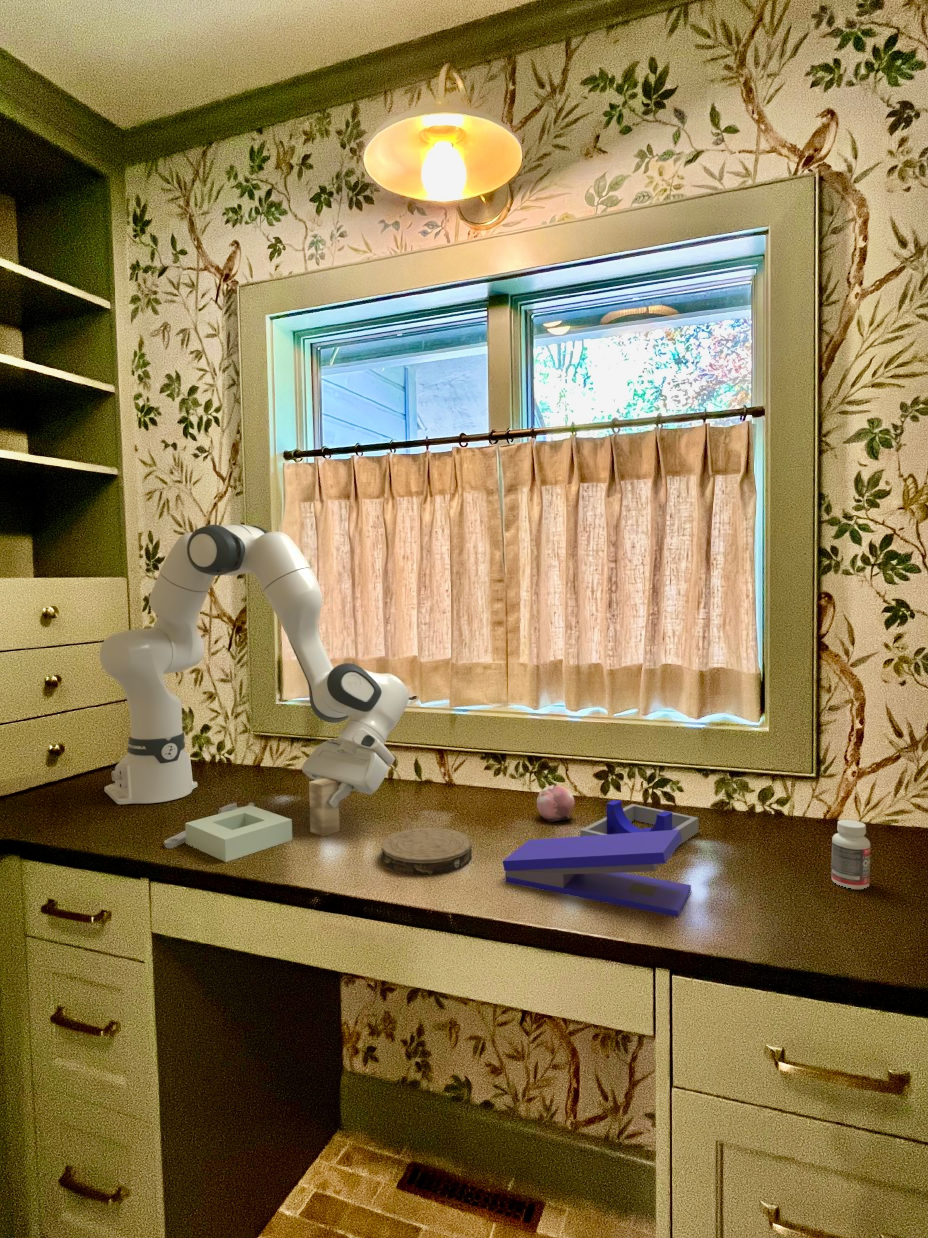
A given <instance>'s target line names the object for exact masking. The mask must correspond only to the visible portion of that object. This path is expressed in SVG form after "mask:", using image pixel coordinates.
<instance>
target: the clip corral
mask: <svg viewBox="0 0 928 1238" xmlns="http://www.w3.org/2000/svg"><path fill="white" fill-rule="evenodd" d="M622 808H623V811H624V814H625V816H626V817H627V819H628V820H629V821H630V822H631V823H633V822H634V820H635V822H640V823H643V822H644V823H643V824H647V823H649V824H648V825H652V824H653V825H652V826H654V825H655V823H656V818H657V815H658V814H660V813H662V812H663V811H665V810H663V809H658V808H653V807H650V806H649V807H648V806H644V805H640V804H639V805H638V804H635V803H631V804H629V805H626V807H622ZM666 811H667V810H666ZM667 812H669V810H668V811H667ZM671 812H672V826H675V827H676V828H675V829H673V830H680V832H681V836H682V841H681V842H680V844H681V843H683V842H684V841H686V840H687V841H689V840H690V839H692V838H693V837H695V836H696V835H697V834H696V833H698V834H699V817H697V816H691V815H687V814H681V813H677V812H673V811H671ZM632 821H633V822H632ZM579 833H580V834H579V835H580V836H593V835H608V834H607V816H604V817H603V818H601V819H599V820H597V821H595V822H593V823H591V824H590V825H586V826H585V827H583V828H581V829H580V831H579ZM695 834H696V835H695ZM694 835H695V836H694ZM692 836H693V837H692ZM691 837H692V838H691ZM689 838H690V839H689ZM688 839H689V840H688ZM687 841H686V842H687ZM684 843H685V842H684ZM684 843H683V844H684ZM680 844H679V845H680ZM679 845H678V847H680V846H681V845H682V844H681V845H680V846H679Z"/></svg>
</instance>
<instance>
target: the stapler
mask: <svg viewBox="0 0 928 1238" xmlns="http://www.w3.org/2000/svg"><path fill="white" fill-rule="evenodd" d="M681 841H682V836H681V832H680V830H665V831H651V832H636V833H622V834H608V835H593V836H569V837H568V836H566V837H564V836H563V837H554V838H552V837H551V838H537V839H529V840H528V841H527V840H526V842H525V843H524V844H522V845H521V846H519V847H518V848H517V849H515V850H514V851H513V852H512V853H510V854H509V855H508V856H507V857H506V858H504V859H503V860H502V866H503V871H504V873H505V883H506V884H507V883H508V884H512V885H517V886H522V887H527V888H533V889H536V890H537V889H538V890H542V891H546V892H552V893H556V894H562V895H567V896H571V897H576V898H581V899H586V900H590V901H596V902H601V903H606V904H610V905H611V904H612V905H615V906H621V907H625V908H631V909H636V910H640V911H646V912H650V913H656V914H660V915H665V916H669V915H670V916H671V917H674V916H675V917H676V918H679V916H680V914H681V912H682V910H683V907H684V906H685V904H686V902H687V899H688V898H689V896H688V895H690V894H691V892H692V885H691V884H686V883H682V882H675V881H672V880H671V881H669V880H666V879H665V880H664V879H659V878H653V877H647V876H642V875H638V874H633V873H644V872H645V873H646V872H649V873H651V872H656V871H657V870H658V868H659V867H660V865H661V864H663V865H665V864H667V862H668V861H669V859H670V858H671V857H672V855H673V854H674V852H675V851H676V849H677V848H678V847H679V846H678V845H679V844H680V842H681ZM631 873H632V874H631ZM690 891H691V892H690ZM689 893H690V894H689ZM675 917H674V918H675Z"/></svg>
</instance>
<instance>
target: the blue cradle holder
mask: <svg viewBox="0 0 928 1238" xmlns="http://www.w3.org/2000/svg"><path fill="white" fill-rule="evenodd" d="M622 802H623V800H618V799H614V800H611V801H609V802H607V803H606V817H607V834H622V833H636V832H651V831H665V830H673V829H675V828H676V827H675V826H672V812H673V811H668V812H667V810H664V811H663V812H662V813H660V814H658V815H657V818H656V823H655V825H653V827H645V828H643V829H642V828H639V827H637V826H635V825H634V824H633V822H630V821H629V820H628V819H627V817H626V816H625V814H624V811H623V808H624V807H623V803H622Z"/></svg>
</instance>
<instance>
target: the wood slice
mask: <svg viewBox="0 0 928 1238" xmlns="http://www.w3.org/2000/svg"><path fill="white" fill-rule="evenodd" d="M472 850H473V848H472V841H471V837H469V836H468V835H467V834H465V833H464V832H461V831H458V830H454V829H449V828H443V827H418V828H411V829H406V830H402V831H399V832H398V831H397V832H395V833H393V834H391V835H389V836H387V837H386V838H385V839H383V841H382V846H381V856H382V857H381V862H382V863H383V865H384V866H385V867H386V868H387V869H389V870H391V871H393V872H395V873H399V874H401V875H408V876H418V877H424V876H426V877H427V876H440V875H446V874H450V873H453V872H457V871H460V870H461V869H463V868H465V867H466V866H469V864H470V863H471V861H472V859H473V858H472V857H473V856H472V854H473V851H472Z"/></svg>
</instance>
